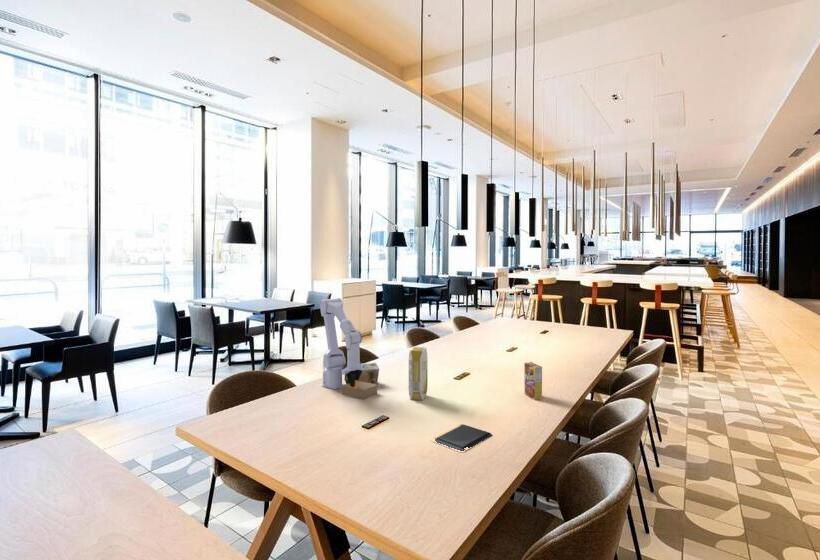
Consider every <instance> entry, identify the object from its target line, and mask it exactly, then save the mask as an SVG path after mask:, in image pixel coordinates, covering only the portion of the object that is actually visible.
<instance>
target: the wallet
mask: <svg viewBox="0 0 820 560" xmlns="http://www.w3.org/2000/svg"><path fill="white" fill-rule="evenodd" d="M492 436H494V435H493V434H492V433H491V432H490V431H486V430H482V429H479V428H476V427H474V426H470V425H467V424H459V425H457V426H455V427H453V428H451V429H448V430H447V431H446V432H445V431H444V433H440V434H439V435H437V436H435V437H434V438H435V441H436V442H437V443H440V444H443V445H446V446H448V447H451V448H454V449H457V450H460V451H464V450H465V449H464V448H466V447H468V448H470V447H472V448H474V447H476V446H477V445H478V443H479V442H481V441H482V442H484V441H486V440H488V439H489V437H490V438H491V437H492ZM487 438H488V439H487ZM485 439H486V440H485ZM482 442H481V443H482ZM437 443H436V444H437ZM440 444H439V445H440ZM476 444H477V445H476ZM479 444H480V443H479ZM475 445H476V446H475ZM473 446H474V447H473Z"/></svg>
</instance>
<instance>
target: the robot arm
mask: <svg viewBox="0 0 820 560" xmlns="http://www.w3.org/2000/svg"><path fill="white" fill-rule="evenodd" d="M343 304H344V303H343V301H342V298H339V297H337V298H329V299H328V298H326V299H325V298H324V299H322V300H321V301H320V304H319V308H320V314H321V315H320V316H321V317H323V320H324V327H325V328H324V329H325V335H326V344H327V349H328V350H326V352H325V353H324V354H323V367H324V369H323V371H322V385H321V387H324V388H329V389H331V390H337V389H341V388H342V385H345V384H346V383H343V375H344V376H345V374H346V376H347V378H348V380H349V383H350V387H355V380H358V381H359V378H360V375H361V373H362V370H360V369H361V368H365V362H364V363H363V362H362V363H361V361H360V359H361V357H360V354H361V353H360V344H361V343H362V341H363V336H362V333H361V331H359V330H358V329H356V328H355V327H354V324H353V323H352V321H351V320H350V319H347V316H346V314H345V312H344V305H343ZM335 318H336V319H337V320H338V321H339V323H340V324H339V328H340V329H341V332H342V334H343V336H344V342H345V347H346V349H347V350H346V353H347V355H346V356H347V358H346V357H345V355H344V351H343V350H341V349H340V348H339V344H338V343H339V342H338V336H337V330H336V322H335ZM346 359H347V361H346ZM346 362H347V363H346ZM346 365H347V367H346Z"/></svg>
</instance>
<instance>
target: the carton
mask: <svg viewBox="0 0 820 560" xmlns="http://www.w3.org/2000/svg"><path fill="white" fill-rule="evenodd" d="M341 389H342V394H341V395H345V396H348V397H354V398H357V399H361V400H365V399H367V398H369V397H372V396H374V395H377V394H378V386H376V387H374V388H371V389H369V390H367V391H364V392H362V391H358V390H354V389H349V388H345V387H341Z"/></svg>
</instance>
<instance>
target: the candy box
mask: <svg viewBox="0 0 820 560" xmlns="http://www.w3.org/2000/svg"><path fill="white" fill-rule="evenodd" d="M523 364H524V366H523V367H524V368H523V369H524V381H523V382H524V384H523V385H524V395H526V396H528V397H529V398H530V399H532V400H534V401H536V400H537V401H538V400H543V366H541V365H538V364H536V363H534V362H533V361H528V362H524V363H523Z"/></svg>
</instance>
